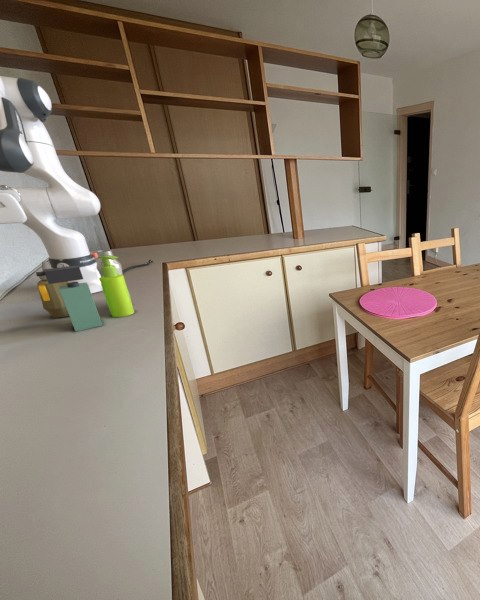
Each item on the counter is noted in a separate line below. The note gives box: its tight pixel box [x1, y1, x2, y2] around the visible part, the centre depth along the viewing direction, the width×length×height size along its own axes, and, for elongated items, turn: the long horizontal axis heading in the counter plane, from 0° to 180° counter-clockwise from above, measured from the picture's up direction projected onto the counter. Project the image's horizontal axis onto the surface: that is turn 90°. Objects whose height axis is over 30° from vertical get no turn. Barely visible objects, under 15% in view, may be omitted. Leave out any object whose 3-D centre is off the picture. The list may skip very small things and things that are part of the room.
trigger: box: [37, 284, 50, 301], centre depth 88 cm, size 1×3×4 cm, turn 47°
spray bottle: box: [35, 265, 103, 332], centre depth 92 cm, size 9×5×19 cm, turn 137°
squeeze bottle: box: [36, 260, 70, 318], centre depth 100 cm, size 8×8×18 cm
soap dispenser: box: [97, 255, 135, 318], centre depth 102 cm, size 6×7×20 cm
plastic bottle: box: [96, 249, 133, 303], centre depth 108 cm, size 6×7×20 cm
